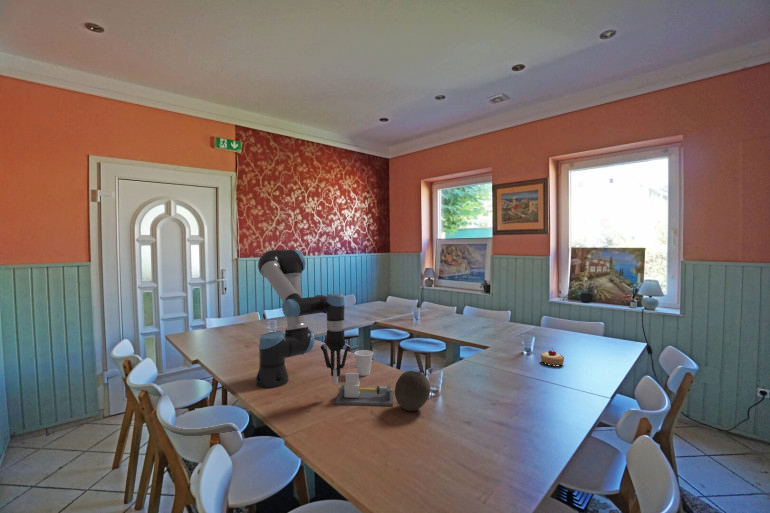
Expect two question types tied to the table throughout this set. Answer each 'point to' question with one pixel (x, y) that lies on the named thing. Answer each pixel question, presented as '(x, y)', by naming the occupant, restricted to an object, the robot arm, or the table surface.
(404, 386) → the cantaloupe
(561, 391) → the table surface
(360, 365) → the cup
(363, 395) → the horizontal rod stand
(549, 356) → the pastry
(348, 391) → the sleeve
